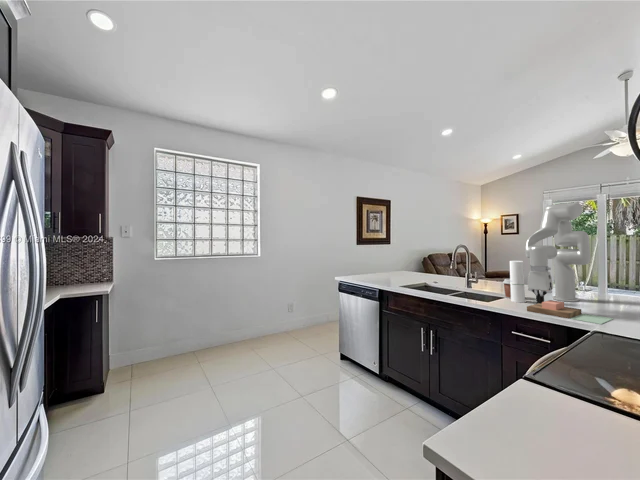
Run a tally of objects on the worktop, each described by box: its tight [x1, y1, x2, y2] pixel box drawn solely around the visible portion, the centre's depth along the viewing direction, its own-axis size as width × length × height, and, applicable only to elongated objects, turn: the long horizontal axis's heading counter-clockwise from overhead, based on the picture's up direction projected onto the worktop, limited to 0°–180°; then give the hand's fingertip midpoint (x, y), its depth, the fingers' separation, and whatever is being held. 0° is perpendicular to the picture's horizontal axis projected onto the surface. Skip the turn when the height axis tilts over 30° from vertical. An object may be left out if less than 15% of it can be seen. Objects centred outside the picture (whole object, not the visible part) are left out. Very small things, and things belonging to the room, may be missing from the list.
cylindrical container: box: [509, 260, 526, 304], centre depth 175 cm, size 7×7×25 cm
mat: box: [569, 313, 615, 325], centre depth 134 cm, size 15×11×1 cm
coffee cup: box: [502, 278, 511, 300], centre depth 185 cm, size 9×9×12 cm
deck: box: [526, 303, 583, 320], centre depth 147 cm, size 14×18×2 cm
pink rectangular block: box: [542, 299, 565, 310], centre depth 147 cm, size 9×6×3 cm, turn 118°
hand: (540, 302), depth 152 cm, fingers closed
